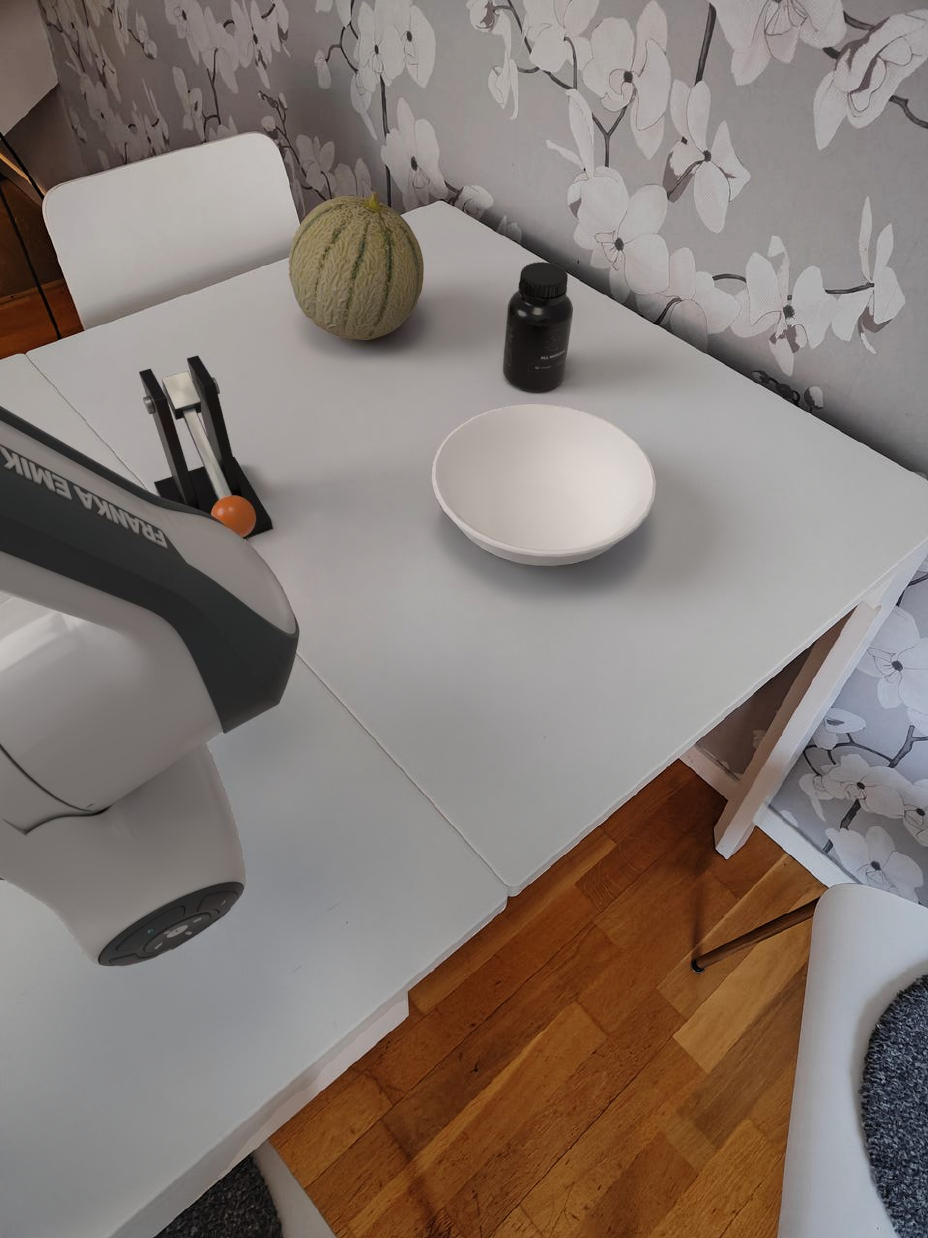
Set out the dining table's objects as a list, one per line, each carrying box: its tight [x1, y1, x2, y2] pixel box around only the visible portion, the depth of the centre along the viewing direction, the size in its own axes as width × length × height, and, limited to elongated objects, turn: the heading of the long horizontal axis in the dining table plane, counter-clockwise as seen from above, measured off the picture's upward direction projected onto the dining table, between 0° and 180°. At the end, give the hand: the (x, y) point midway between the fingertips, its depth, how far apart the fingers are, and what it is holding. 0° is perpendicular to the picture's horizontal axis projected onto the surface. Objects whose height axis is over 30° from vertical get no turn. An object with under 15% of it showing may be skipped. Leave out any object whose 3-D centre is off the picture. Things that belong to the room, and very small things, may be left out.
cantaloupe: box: [288, 190, 425, 341], centre depth 95 cm, size 15×15×15 cm
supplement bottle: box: [502, 261, 574, 393], centre depth 92 cm, size 7×7×12 cm
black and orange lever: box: [138, 354, 274, 540], centre depth 76 cm, size 10×8×15 cm
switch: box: [161, 370, 256, 538], centre depth 72 cm, size 14×4×4 cm
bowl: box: [431, 403, 657, 567], centre depth 79 cm, size 20×20×6 cm
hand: (40, 529), depth 56 cm, fingers closed on lighter, 3 cm apart
